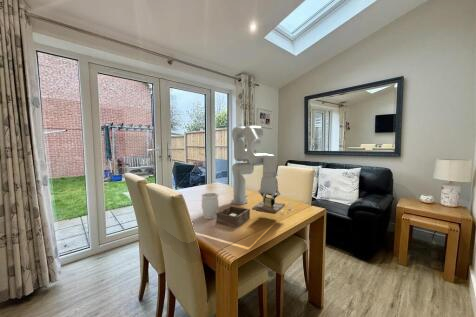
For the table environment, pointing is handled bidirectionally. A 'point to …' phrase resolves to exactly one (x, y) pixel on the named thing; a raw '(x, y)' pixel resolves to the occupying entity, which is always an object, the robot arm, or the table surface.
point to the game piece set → (287, 211)
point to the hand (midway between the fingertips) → (268, 204)
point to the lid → (268, 206)
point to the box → (227, 219)
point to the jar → (210, 205)
